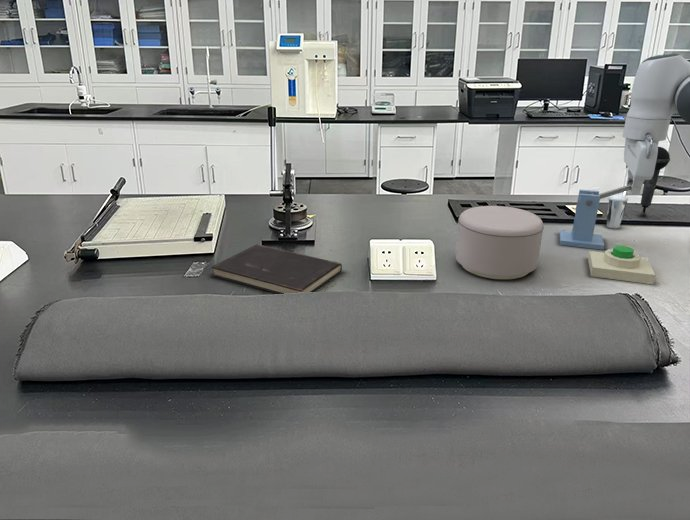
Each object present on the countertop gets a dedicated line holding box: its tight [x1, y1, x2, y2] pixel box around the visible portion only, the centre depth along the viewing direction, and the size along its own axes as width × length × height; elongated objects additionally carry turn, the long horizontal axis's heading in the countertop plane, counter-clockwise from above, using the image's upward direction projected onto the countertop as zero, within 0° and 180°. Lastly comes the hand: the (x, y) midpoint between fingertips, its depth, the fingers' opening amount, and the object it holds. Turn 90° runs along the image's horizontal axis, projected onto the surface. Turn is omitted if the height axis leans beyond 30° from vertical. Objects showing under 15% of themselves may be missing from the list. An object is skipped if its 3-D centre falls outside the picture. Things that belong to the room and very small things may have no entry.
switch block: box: [587, 248, 656, 285], centre depth 116 cm, size 12×10×4 cm
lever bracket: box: [558, 189, 605, 251], centre depth 132 cm, size 10×8×13 cm
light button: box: [612, 244, 635, 259], centre depth 115 cm, size 4×4×2 cm
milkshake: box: [605, 191, 629, 229], centre depth 143 cm, size 4×5×10 cm
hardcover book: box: [210, 243, 343, 295], centre depth 115 cm, size 16×23×2 cm
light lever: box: [589, 181, 633, 200], centre depth 128 cm, size 12×6×2 cm, turn 69°
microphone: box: [640, 146, 671, 217], centre depth 150 cm, size 7×7×20 cm
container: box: [454, 205, 545, 280], centre depth 118 cm, size 18×18×12 cm
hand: (632, 189), depth 126 cm, fingers closed on light lever, 6 cm apart
